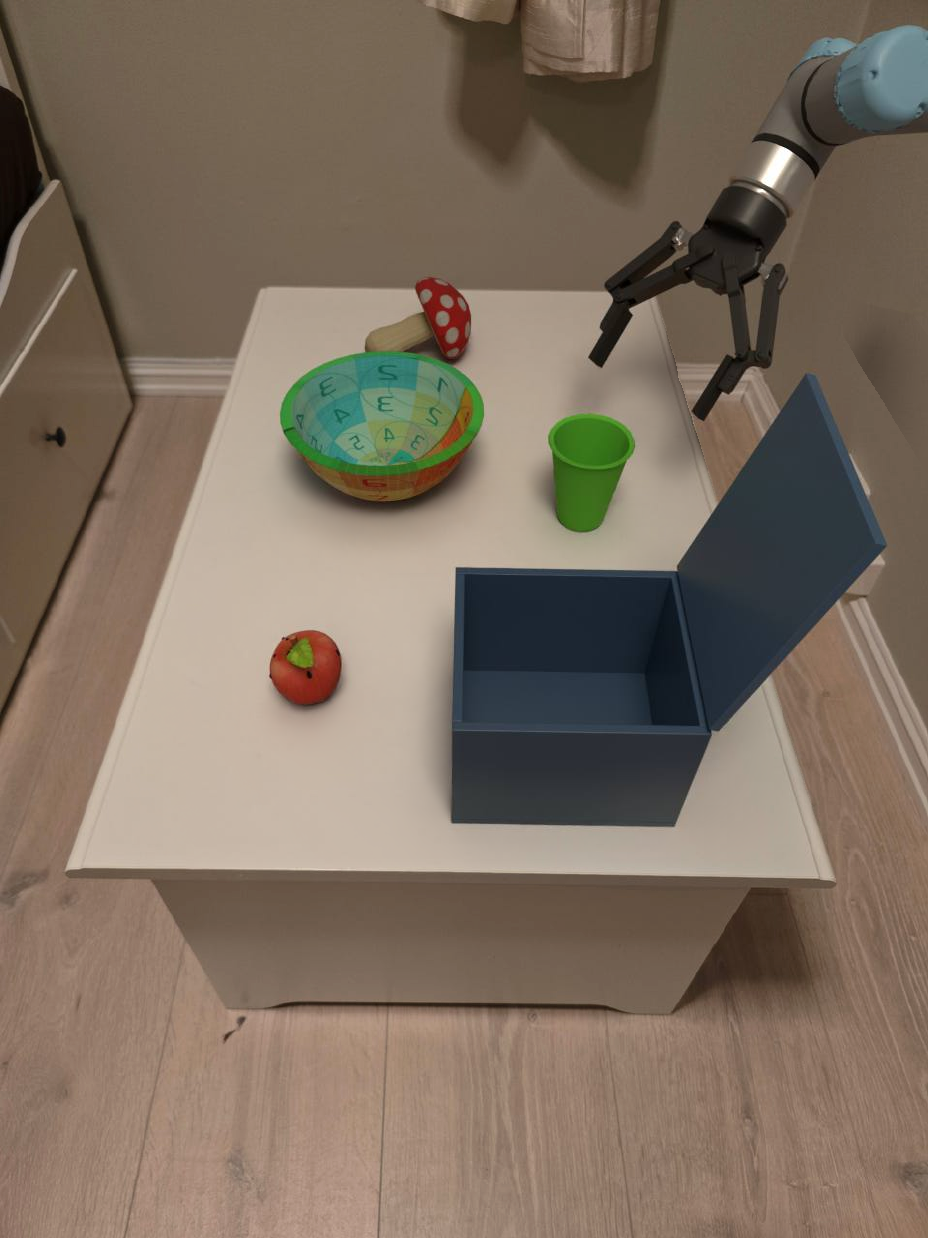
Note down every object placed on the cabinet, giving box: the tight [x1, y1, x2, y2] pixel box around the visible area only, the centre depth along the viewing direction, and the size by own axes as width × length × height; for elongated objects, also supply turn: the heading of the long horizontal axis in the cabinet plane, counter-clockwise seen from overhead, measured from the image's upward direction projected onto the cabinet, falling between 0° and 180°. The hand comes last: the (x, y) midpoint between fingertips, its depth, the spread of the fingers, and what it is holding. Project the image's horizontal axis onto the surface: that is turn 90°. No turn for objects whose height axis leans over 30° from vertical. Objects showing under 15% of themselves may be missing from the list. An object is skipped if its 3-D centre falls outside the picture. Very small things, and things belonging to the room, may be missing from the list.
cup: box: [547, 413, 636, 533], centre depth 97 cm, size 9×9×11 cm
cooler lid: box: [676, 372, 888, 733], centre depth 63 cm, size 20×17×1 cm
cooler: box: [450, 566, 713, 828], centre depth 76 cm, size 19×17×14 cm
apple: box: [268, 629, 343, 706], centre depth 81 cm, size 8×7×10 cm
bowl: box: [279, 351, 485, 502], centre depth 101 cm, size 22×22×10 cm
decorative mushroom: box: [364, 276, 472, 360], centre depth 119 cm, size 11×11×15 cm
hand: (644, 389), depth 95 cm, fingers open, 13 cm apart
